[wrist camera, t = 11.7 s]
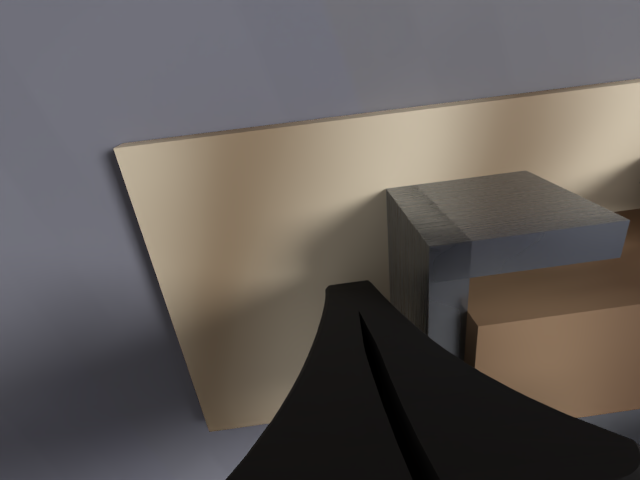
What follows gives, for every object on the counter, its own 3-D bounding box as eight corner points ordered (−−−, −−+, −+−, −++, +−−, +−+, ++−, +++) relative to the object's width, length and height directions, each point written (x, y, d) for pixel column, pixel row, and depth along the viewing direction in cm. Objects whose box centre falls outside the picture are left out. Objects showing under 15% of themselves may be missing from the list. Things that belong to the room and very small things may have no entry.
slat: (723, 197, 11) (928, 264, 8) (691, 285, 13) (854, 377, 9) (415, 238, 11) (478, 326, 7) (416, 322, 12) (469, 433, 9)
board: (803, 57, 10) (832, 58, 10) (689, 349, 15) (705, 361, 14) (122, 143, 10) (113, 148, 9) (212, 417, 14) (209, 431, 14)
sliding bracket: (526, 170, 10) (629, 220, 7) (503, 349, 13) (573, 442, 10) (385, 188, 10) (429, 247, 7) (392, 365, 13) (426, 464, 10)
